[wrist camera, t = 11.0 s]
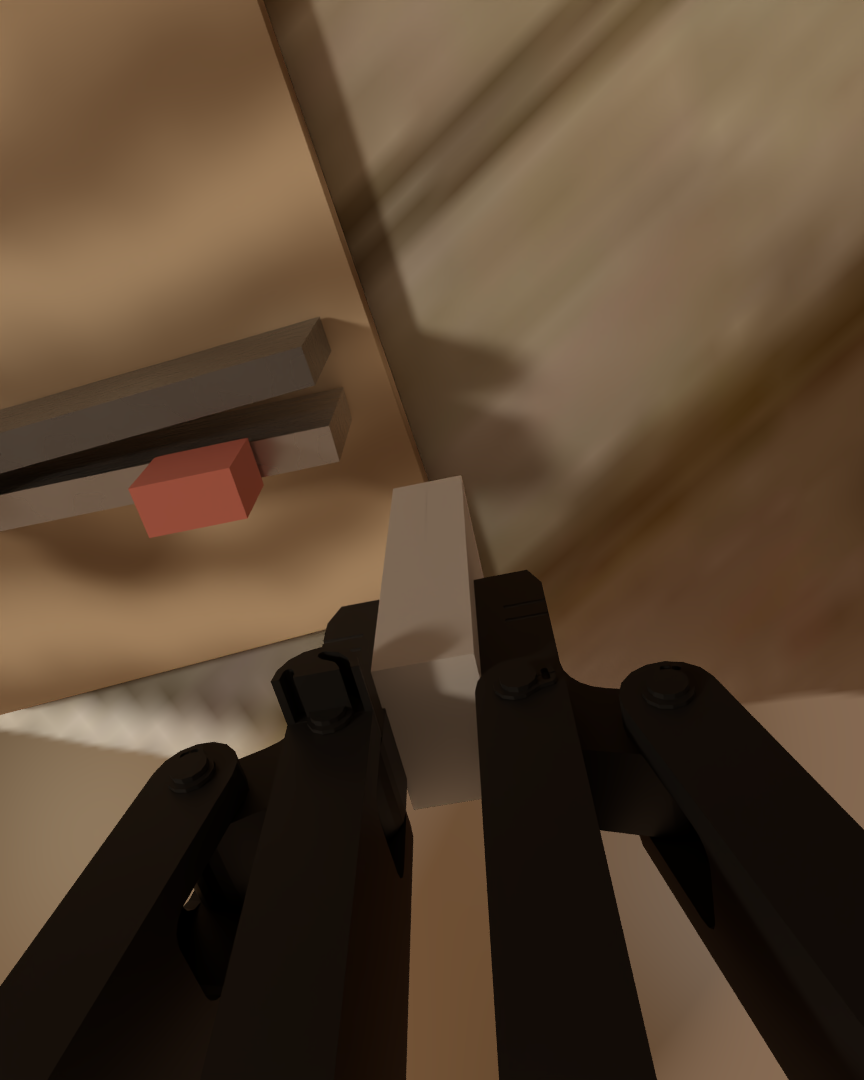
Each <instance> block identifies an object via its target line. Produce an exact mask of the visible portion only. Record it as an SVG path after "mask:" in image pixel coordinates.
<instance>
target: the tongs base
mask: <svg viewBox="0 0 864 1080" xmlns="http://www.w3.org/2000/svg"><path fill="white" fill-rule="evenodd" d="M351 422H352V417H351V413H350V410H349V406H348V402H347V399H346V395H345V392H344V388H343V387H341V388H336V389H332V390H327V391H323V392H318V393H313V394H309V395H304V396H299V397H295V398H290V399H285V400H281V401H276V402H272V403H267V404H262V405H258V406H253V407H248V408H244V409H239V410H234V411H230V412H225V413H221V414H216V415H211V416H207V417H202V418H197V419H193V420H190V421H186V422H182V423H179V424H175V425H172V426H168V427H165V428H161V429H157V430H154V431H150V432H147V433H143V434H140V435H136V436H132V437H129V438H125V439H122V440H118V441H115V442H111V443H107V444H104V445H100V446H97V447H93V448H90V449H86V450H82V451H79V452H75V453H72V454H68V455H65V456H61V457H57V458H54V459H50V460H47V461H43V462H40V463H36V464H32V465H29V466H25V467H22V468H18V469H15V470H11V471H7V472H4V473H0V531H4V530H9V529H14V528H19V527H24V526H29V525H34V524H38V523H43V522H48V521H53V520H58V519H63V518H68V517H73V516H77V515H82V514H87V513H92V512H97V511H102V510H107V509H111V508H116V507H121V506H126V505H131V504H134V501H133V499H132V497H131V494H130V492H129V490H128V488H129V487H130V486H131V485H132V484H133V482H134V481H135V480H136V479H137V478H138V477H139V475H140V474H141V473H142V472H143V471H144V470H145V468H146V467H147V466H148V465H149V464H150V462H151V461H152V460H153V459H154V458H155V457H158V456H163V455H168V454H172V453H177V452H182V451H187V450H191V449H196V448H201V447H206V446H210V445H215V444H220V443H225V442H229V441H234V440H239V439H243V438H248V440H249V443H250V446H251V449H252V452H253V455H254V458H255V461H256V463H257V466H258V469H259V472H260V475H261V478H262V477H267V476H272V475H277V474H282V473H287V472H292V471H297V470H301V469H306V468H311V467H316V466H321V465H326V464H331V463H336V462H340V459H341V455H342V452H343V449H344V445H345V442H346V438H347V435H348V432H349V428H350V425H351Z"/></svg>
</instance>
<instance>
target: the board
mask: <svg viewBox="0 0 864 1080" xmlns="http://www.w3.org/2000/svg"><path fill="white" fill-rule="evenodd" d="M319 316H320V319H321V322H322V325H323V328H324V331H325V334H326V337H327V340H328V343H329V345H330V348H331V353H330V355H329V357H328V359H327V361H326V363H325V366H324V368H323V370H322V372H321V374H320V376H319V378H318V380H317V382H316V385H315V386H311V387H308V388H304V389H300V390H297V391H293V392H290V393H286V394H283V395H279V396H275V397H272V398H268V399H265V400H261V401H258V402H254V403H250V404H247V405H243V406H240V407H236V408H233V409H229V410H225V411H222V412H218V413H215V414H211V415H216V414H221V413H225V412H230V411H234V410H239V409H244V408H248V407H253V406H258V405H262V404H267V403H272V402H276V401H281V400H285V399H290V398H295V397H299V396H304V395H309V394H313V393H318V392H323V391H327V390H332V389H336V388H341V387H343V388H344V392H345V395H346V399H347V402H348V406H349V410H350V413H351V417H352V422H351V425H350V428H349V432H348V435H347V438H346V442H345V445H344V449H343V452H342V455H341V459H340V462H336V463H331V464H326V465H321V466H316V467H311V468H306V469H301V470H297V471H292V472H287V473H282V474H277V475H272V476H267V477H262V481H263V484H264V486H263V488H262V490H261V492H260V494H259V496H258V498H257V500H256V502H255V504H254V506H253V508H252V510H251V513H250V515H249V517H248V519H243V520H238V521H233V522H228V523H223V524H218V525H213V526H208V527H203V528H198V529H193V530H188V531H183V532H178V533H173V534H168V535H163V536H158V537H153V538H149V536H148V534H147V532H146V529H145V527H144V525H143V522H142V520H141V518H140V515H139V513H138V511H137V508H136V506H135V504H131V505H126V506H121V507H116V508H111V509H107V510H102V511H97V512H92V513H87V514H82V515H77V516H73V517H68V518H63V519H58V520H53V521H48V522H43V523H38V524H34V525H29V526H24V527H19V528H14V529H9V530H4V531H0V715H2V714H5V713H9V712H13V711H17V710H21V709H24V708H28V707H32V706H36V705H40V704H43V703H47V702H51V701H55V700H59V699H62V698H66V697H70V696H74V695H78V694H81V693H85V692H89V691H93V690H97V689H100V688H104V687H108V686H112V685H116V684H119V683H123V682H127V681H131V680H135V679H138V678H142V677H146V676H150V675H154V674H157V673H161V672H165V671H169V670H173V669H176V668H180V667H184V666H188V665H192V664H195V663H199V662H203V661H207V660H211V659H214V658H218V657H222V656H226V655H230V654H233V653H237V652H241V651H245V650H249V649H252V648H256V647H260V646H264V645H268V644H271V643H275V642H279V641H283V640H287V639H290V638H294V637H298V636H302V635H306V634H309V633H313V632H317V631H321V630H325V629H326V628H327V624H328V622H329V621H330V620H331V619H332V617H333V616H334V615H335V614H336V613H337V611H338V610H339V609H340V608H341V607H342V606H348V605H353V604H358V603H364V602H369V601H374V600H380V592H381V584H382V576H383V568H384V559H385V551H386V543H387V535H388V527H389V518H390V510H391V502H392V494H393V489H394V488H399V487H404V486H409V485H414V484H419V483H424V482H429V481H428V478H427V475H426V472H425V469H424V466H423V463H422V460H421V457H420V455H419V452H418V449H417V446H416V443H415V440H414V437H413V434H412V431H411V428H410V425H409V423H408V420H407V417H406V414H405V411H404V408H403V405H402V402H401V399H400V396H399V393H398V391H397V388H396V385H395V382H394V379H393V376H392V373H391V370H390V367H389V364H388V361H387V359H386V356H385V353H384V350H383V347H382V344H381V341H380V338H379V335H378V332H377V329H376V327H375V324H374V321H373V318H372V315H371V312H370V309H369V306H368V303H367V300H366V298H365V295H364V292H363V289H362V286H361V283H360V280H359V277H358V274H357V271H356V268H355V266H354V263H353V260H352V257H351V254H350V251H349V248H348V245H347V242H346V239H345V236H344V234H343V231H342V228H341V225H340V222H339V219H338V216H337V213H336V210H335V207H334V204H333V202H332V199H331V196H330V193H329V190H328V187H327V184H326V181H325V178H324V175H323V172H322V170H321V167H320V164H319V161H318V158H317V155H316V152H315V149H314V146H313V143H312V140H311V138H310V135H309V132H308V129H307V126H306V123H305V120H304V117H303V114H302V111H301V108H300V106H299V103H298V100H297V97H296V94H295V91H294V88H293V85H292V82H291V79H290V76H289V74H288V71H287V68H286V65H285V62H284V59H283V56H282V53H281V50H280V47H279V44H278V42H277V39H276V36H275V33H274V30H273V27H272V24H271V21H270V18H269V15H268V12H267V10H266V7H265V4H264V1H263V0H0V410H1V409H4V408H8V407H11V406H14V405H18V404H21V403H25V402H28V401H32V400H35V399H38V398H42V397H45V396H49V395H52V394H56V393H59V392H62V391H66V390H69V389H73V388H76V387H80V386H83V385H86V384H90V383H93V382H97V381H100V380H104V379H107V378H110V377H114V376H117V375H121V374H124V373H128V372H131V371H134V370H138V369H141V368H145V367H148V366H152V365H155V364H158V363H162V362H165V361H169V360H172V359H176V358H179V357H182V356H186V355H189V354H193V353H196V352H199V351H203V350H206V349H210V348H213V347H217V346H220V345H223V344H227V343H230V342H234V341H237V340H241V339H244V338H247V337H251V336H254V335H258V334H261V333H265V332H268V331H271V330H275V329H278V328H282V327H285V326H289V325H292V324H295V323H299V322H302V321H306V320H309V319H313V318H316V317H319ZM211 415H207V416H211ZM207 416H204V417H207ZM200 418H202V417H200Z"/></svg>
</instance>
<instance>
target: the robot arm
mask: <svg viewBox="0 0 864 1080" xmlns="http://www.w3.org/2000/svg"><path fill="white" fill-rule="evenodd" d="M271 683H272V686H273V689H274V691H275V694H276V696H277V699H278V702H279V704H280V707H281V709H282V712H283V715H284V717H285V720H286V722H287V725H288V726H287V730H286V734H285V738H284V739H282V740H281V741H279V742H278V743H276V744H274V745H272V746H270V747H268V748H266V749H263V750H261V751H258V752H256V753H253V754H251V755H248V756H246V757H243V758H241V759H238V757H237V755H236V752H235V751H234V750H233V749H232V748H230V747H229V746H228V745H227V744H222V743H216V742H210V743H203V744H197V745H195V746H192V747H190V748H187V749H184V750H182V751H180V752H178V753H177V754H175V755H174V756H172V757H171V758H169V759H168V760H166V761H165V762H164V763H163V764H162V765H161V766H160V768H158V769H157V770H156V772H155V773H154V774H153V775H152V776H151V778H150V779H149V781H148V782H147V784H146V785H145V786H144V788H143V789H142V790H141V792H140V793H139V794H138V796H137V797H136V799H135V800H134V802H133V803H132V804H131V806H130V807H129V808H128V810H127V811H126V812H125V814H124V815H123V817H122V818H121V819H120V821H119V822H118V824H117V825H116V826H115V828H114V829H113V831H112V832H111V833H110V835H109V836H108V837H107V839H106V840H105V842H104V843H103V844H102V846H101V847H100V849H99V850H98V852H97V853H96V854H95V856H94V857H93V858H92V860H91V861H90V863H89V864H88V865H87V867H86V868H85V869H84V871H83V872H82V874H81V875H80V876H79V878H78V879H77V881H76V882H75V883H74V885H73V886H72V887H71V889H70V890H69V892H68V893H67V895H66V896H65V897H64V898H63V900H62V901H61V903H60V904H59V905H58V907H57V908H56V910H55V911H54V913H53V914H52V915H51V917H50V918H49V919H48V921H47V922H46V924H45V925H44V926H43V928H42V929H41V930H40V932H39V933H38V935H37V936H36V937H35V939H34V940H33V942H32V943H31V944H30V946H29V947H28V949H27V950H26V951H25V953H24V954H23V956H22V957H21V958H20V960H19V961H18V962H17V964H16V965H15V966H14V968H13V969H12V971H11V972H10V973H9V975H8V976H7V978H6V979H5V980H4V982H3V983H2V985H1V986H0V1080H406V1062H407V1058H406V1057H407V1028H408V995H409V962H410V929H411V896H412V862H413V833H412V829H411V825H410V821H409V818H408V815H407V812H406V795H407V790H408V793H409V796H410V799H411V802H412V805H413V809H414V810H415V809H422V808H428V807H435V806H441V805H447V804H453V803H460V802H466V801H472V800H479V799H482V813H483V830H484V846H485V862H486V876H487V877H486V878H487V893H488V910H489V924H490V942H491V957H492V973H493V989H494V1005H495V1021H496V1037H497V1052H498V1067H499V1080H657V1078H656V1074H655V1069H654V1065H653V1061H652V1056H651V1052H650V1048H649V1043H648V1039H647V1034H646V1030H645V1026H644V1021H643V1017H642V1013H641V1008H640V1004H639V1000H638V995H637V991H636V986H635V982H634V978H633V973H632V969H631V964H630V960H629V956H628V951H627V947H626V943H625V938H624V934H623V929H622V926H621V921H620V916H619V912H618V908H617V903H616V899H615V895H614V890H613V886H612V881H611V877H610V873H609V869H608V864H607V859H606V855H605V851H604V846H603V842H602V838H601V833H600V830H603V831H611V832H619V833H627V834H635V835H640V838H641V841H642V844H643V846H644V848H645V849H646V851H647V853H648V854H649V856H650V857H651V859H652V861H653V862H654V864H655V865H656V867H657V869H658V870H659V872H660V874H661V875H662V877H663V878H664V880H665V882H666V883H667V885H668V886H669V888H670V890H671V891H672V893H673V894H674V896H675V898H676V899H677V901H678V902H679V904H680V906H681V907H682V909H683V910H684V912H685V914H686V915H687V917H688V919H689V920H690V922H691V923H692V925H693V926H694V928H695V930H696V931H697V933H698V935H699V936H700V938H701V939H702V941H703V942H704V944H705V946H706V947H707V949H708V951H709V952H710V954H711V955H712V957H713V959H714V960H715V962H716V964H717V965H718V967H719V968H720V970H721V971H722V973H723V975H724V976H725V978H726V980H727V981H728V983H729V984H730V986H731V987H732V989H733V991H734V992H735V994H736V995H737V997H738V999H739V1000H740V1002H741V1004H742V1005H743V1006H744V1008H745V1010H746V1012H747V1013H748V1015H749V1017H750V1018H751V1019H752V1021H753V1023H754V1024H755V1026H756V1028H757V1029H758V1031H759V1033H760V1034H761V1036H762V1037H763V1039H764V1041H765V1042H766V1044H767V1045H768V1047H769V1049H770V1050H771V1052H772V1053H773V1055H774V1057H775V1058H776V1060H777V1062H778V1063H779V1065H780V1066H781V1068H782V1070H783V1071H784V1073H785V1074H786V1076H787V1078H788V1079H789V1080H864V830H863V828H862V827H861V826H859V824H858V823H857V822H856V821H855V820H854V819H853V818H852V817H851V816H850V815H849V814H848V813H847V812H846V811H845V810H844V809H843V808H842V807H841V806H840V805H839V804H838V803H837V802H836V801H835V800H834V799H833V798H832V797H831V796H830V795H829V794H828V793H827V792H826V791H825V790H824V789H823V788H822V787H821V786H820V785H819V784H818V783H817V781H816V780H814V778H813V777H812V776H811V775H810V774H809V773H807V771H806V770H805V769H804V768H803V767H802V766H801V765H800V764H799V763H798V762H797V761H796V760H795V759H794V758H793V757H792V756H791V755H790V754H789V753H788V752H787V751H786V750H785V749H784V748H783V747H782V746H781V745H780V744H779V743H778V742H777V741H776V740H775V739H774V738H773V737H772V736H771V735H770V733H769V732H768V731H767V730H766V729H765V728H763V726H762V725H761V724H760V723H759V722H758V721H757V720H756V719H755V718H754V717H753V716H751V714H750V713H749V712H748V711H747V710H746V709H745V708H744V707H743V706H742V705H741V704H740V703H739V702H738V701H737V700H736V699H735V698H734V697H733V696H732V695H731V694H730V692H729V691H728V690H727V689H726V688H725V687H724V686H723V685H722V684H721V683H720V682H719V681H718V680H717V679H716V678H715V677H714V676H713V675H711V674H710V673H708V672H707V671H705V670H704V669H702V668H701V667H698V666H695V665H691V664H688V663H684V662H668V661H663V662H658V663H653V664H648V665H645V666H643V667H641V668H639V669H637V670H635V671H633V672H631V673H630V674H629V675H628V676H627V677H626V678H625V680H624V681H623V682H622V683H621V687H620V689H612V688H601V687H593V686H589V685H586V684H583V683H580V682H578V681H576V680H575V679H573V678H571V677H570V676H569V675H568V674H567V673H566V672H565V671H564V670H563V668H562V666H561V664H560V661H559V656H558V652H557V648H556V643H555V639H554V635H553V630H552V626H551V622H550V617H549V613H548V609H547V604H546V600H545V596H544V591H543V587H542V583H541V581H540V580H538V579H537V578H536V577H535V576H534V575H532V574H531V573H530V572H529V571H528V570H524V571H518V572H513V573H508V574H502V575H497V576H492V577H486V578H484V576H483V572H482V567H481V562H480V558H479V553H478V549H477V544H476V540H475V535H474V531H473V526H472V521H471V517H470V512H469V508H468V503H467V499H466V494H465V490H464V485H463V480H462V476H461V475H459V476H454V477H449V478H444V479H439V480H434V481H429V482H424V483H419V484H414V485H409V486H404V487H399V488H394V489H393V494H392V502H391V510H390V518H389V527H388V535H387V543H386V551H385V559H384V568H383V576H382V584H381V592H380V600H374V601H369V602H364V603H358V604H353V605H348V606H342V607H341V608H340V609H339V610H338V611H337V613H336V614H335V615H334V616H333V617H332V619H331V620H330V621H329V622H328V624H327V628H326V632H325V637H324V644H323V646H322V647H320V648H317V649H313V650H310V651H307V652H303V653H302V654H300V655H298V656H296V657H294V658H292V659H290V660H289V661H287V662H286V663H285V664H284V665H283V666H282V667H281V668H279V669H278V670H277V672H276V673H275V675H274V677H273V679H272V680H271ZM193 888H194V889H195V890H194V892H193V894H192V896H191V898H190V899H189V901H188V902H187V903H186V904H185V902H186V900H187V899H188V897H189V895H190V893H191V891H192V890H193ZM184 904H185V905H184ZM183 906H184V907H183Z"/></svg>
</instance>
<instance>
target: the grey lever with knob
mask: <svg viewBox="0 0 864 1080" xmlns="http://www.w3.org/2000/svg"><path fill="white" fill-rule="evenodd" d="M330 353H331V348H330V345H329V343H328V340H327V337H326V334H325V331H324V328H323V325H322V322H321V319H320V316H319V317H316V318H313V319H309V320H306V321H302V322H299V323H295V324H292V325H289V326H285V327H282V328H278V329H275V330H271V331H268V332H265V333H261V334H258V335H254V336H251V337H247V338H244V339H241V340H237V341H234V342H230V343H227V344H223V345H220V346H217V347H213V348H210V349H206V350H203V351H199V352H196V353H193V354H189V355H186V356H182V357H179V358H176V359H172V360H169V361H165V362H162V363H158V364H155V365H152V366H148V367H145V368H141V369H138V370H134V371H131V372H128V373H124V374H121V375H117V376H114V377H110V378H107V379H104V380H100V381H97V382H93V383H90V384H86V385H83V386H80V387H76V388H73V389H69V390H66V391H62V392H59V393H56V394H52V395H49V396H45V397H42V398H38V399H35V400H32V401H28V402H25V403H21V404H18V405H14V406H11V407H8V408H4V409H1V410H0V473H4V472H7V471H11V470H15V469H18V468H22V467H25V466H29V465H32V464H36V463H40V462H43V461H47V460H50V459H54V458H57V457H61V456H65V455H68V454H72V453H75V452H79V451H82V450H86V449H90V448H93V447H97V446H100V445H104V444H107V443H111V442H115V441H118V440H122V439H125V438H129V437H132V436H136V435H140V434H143V433H147V432H150V431H154V430H157V429H161V428H165V427H168V426H172V425H175V424H179V423H182V422H186V421H190V420H193V419H197V418H200V417H204V416H207V415H211V414H215V413H218V412H222V411H225V410H229V409H233V408H236V407H240V406H243V405H247V404H250V403H254V402H258V401H261V400H265V399H268V398H272V397H275V396H279V395H283V394H286V393H290V392H293V391H297V390H300V389H304V388H308V387H311V386H315V385H316V382H317V380H318V378H319V376H320V374H321V372H322V370H323V368H324V366H325V363H326V361H327V359H328V357H329V355H330Z"/></svg>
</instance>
